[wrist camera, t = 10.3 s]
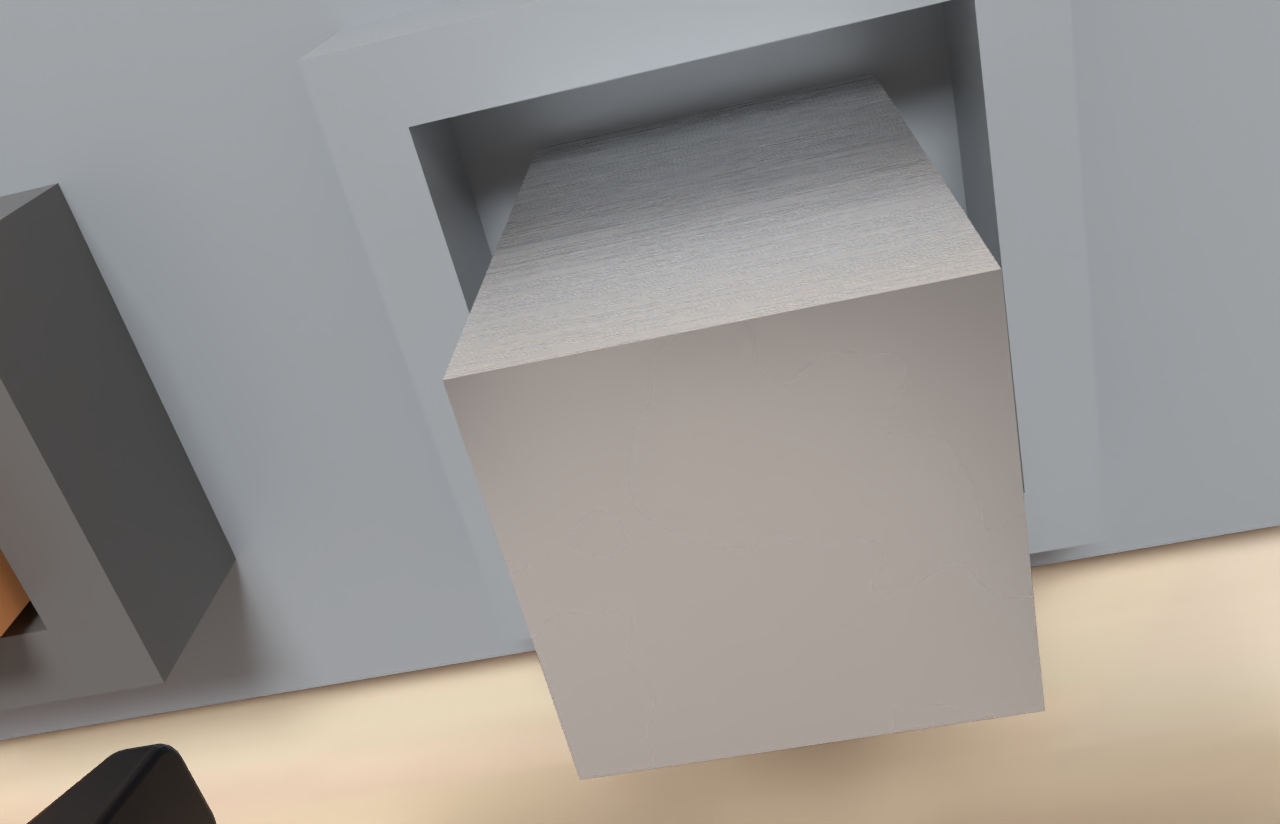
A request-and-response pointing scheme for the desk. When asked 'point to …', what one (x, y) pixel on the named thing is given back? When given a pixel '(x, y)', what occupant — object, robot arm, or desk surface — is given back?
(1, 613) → the button
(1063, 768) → the desk surface
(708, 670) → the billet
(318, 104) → the gray socket fixture
